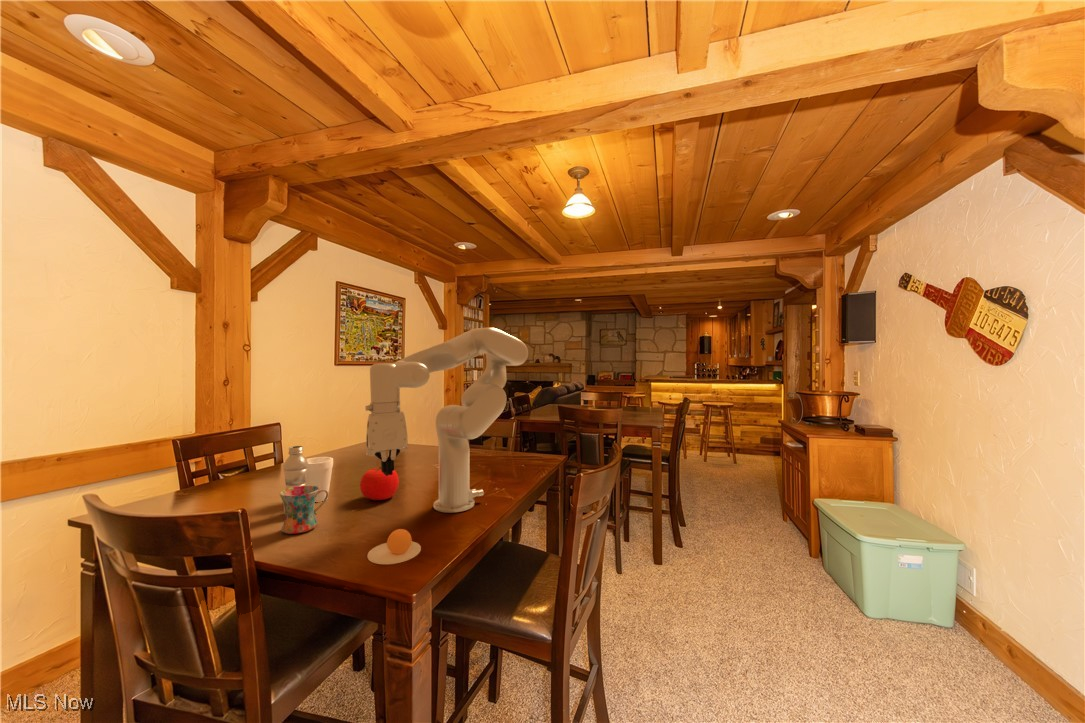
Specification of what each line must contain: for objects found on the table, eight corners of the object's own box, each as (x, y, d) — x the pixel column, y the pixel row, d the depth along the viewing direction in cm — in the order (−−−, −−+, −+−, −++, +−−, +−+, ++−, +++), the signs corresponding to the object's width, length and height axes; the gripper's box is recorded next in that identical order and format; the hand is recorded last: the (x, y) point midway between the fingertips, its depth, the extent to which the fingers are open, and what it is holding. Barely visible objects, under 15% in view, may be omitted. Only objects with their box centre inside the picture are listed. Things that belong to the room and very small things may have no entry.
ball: (406, 525, 103) (411, 525, 98) (411, 549, 101) (415, 550, 97) (383, 533, 100) (387, 533, 95) (387, 556, 99) (391, 558, 94)
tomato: (404, 493, 142) (404, 463, 142) (386, 506, 130) (386, 472, 130) (374, 492, 144) (374, 461, 144) (353, 504, 132) (353, 471, 132)
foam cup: (337, 499, 136) (337, 460, 136) (307, 506, 129) (307, 465, 129) (326, 493, 143) (326, 455, 143) (296, 500, 136) (296, 460, 136)
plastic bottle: (285, 520, 118) (285, 450, 118) (281, 513, 124) (281, 446, 124) (310, 515, 123) (310, 447, 123) (306, 508, 128) (306, 444, 128)
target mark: (411, 537, 107) (411, 536, 107) (428, 554, 97) (428, 553, 97) (361, 549, 100) (361, 548, 100) (374, 569, 90) (374, 568, 90)
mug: (287, 540, 106) (287, 498, 106) (274, 530, 111) (274, 491, 111) (335, 525, 115) (335, 487, 115) (320, 517, 121) (320, 481, 121)
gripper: (360, 412, 107) (362, 483, 107) (417, 406, 115) (419, 472, 116) (353, 409, 113) (355, 476, 113) (408, 404, 121) (410, 466, 122)
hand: (387, 474), depth 115 cm, fingers closed
